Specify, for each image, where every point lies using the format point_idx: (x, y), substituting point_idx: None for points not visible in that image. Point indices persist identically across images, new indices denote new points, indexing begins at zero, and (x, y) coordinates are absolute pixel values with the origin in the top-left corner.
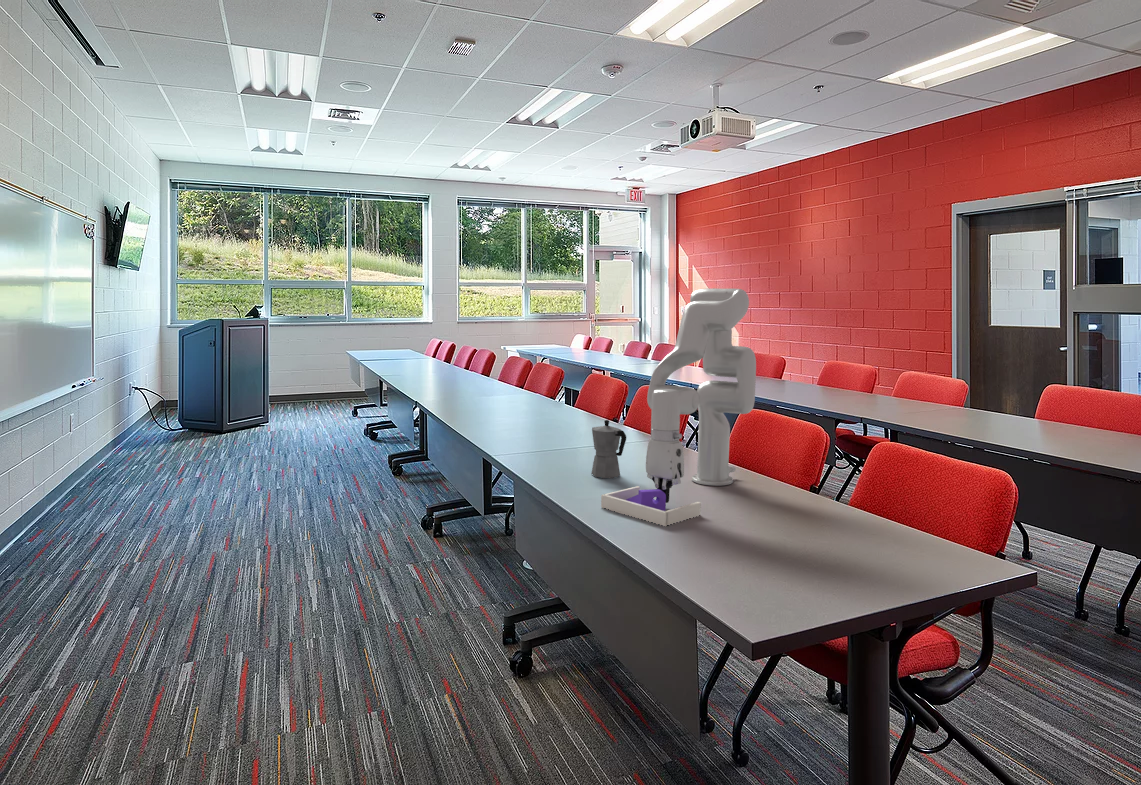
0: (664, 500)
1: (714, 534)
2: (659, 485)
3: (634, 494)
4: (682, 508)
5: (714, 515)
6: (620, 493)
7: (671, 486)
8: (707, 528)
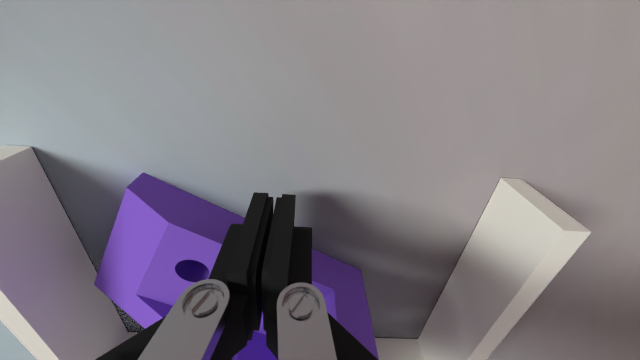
0: (369, 346)
1: (610, 315)
2: (234, 355)
3: (19, 217)
4: (492, 345)
5: (609, 119)
6: (56, 332)
7: (338, 325)
8: (579, 289)
